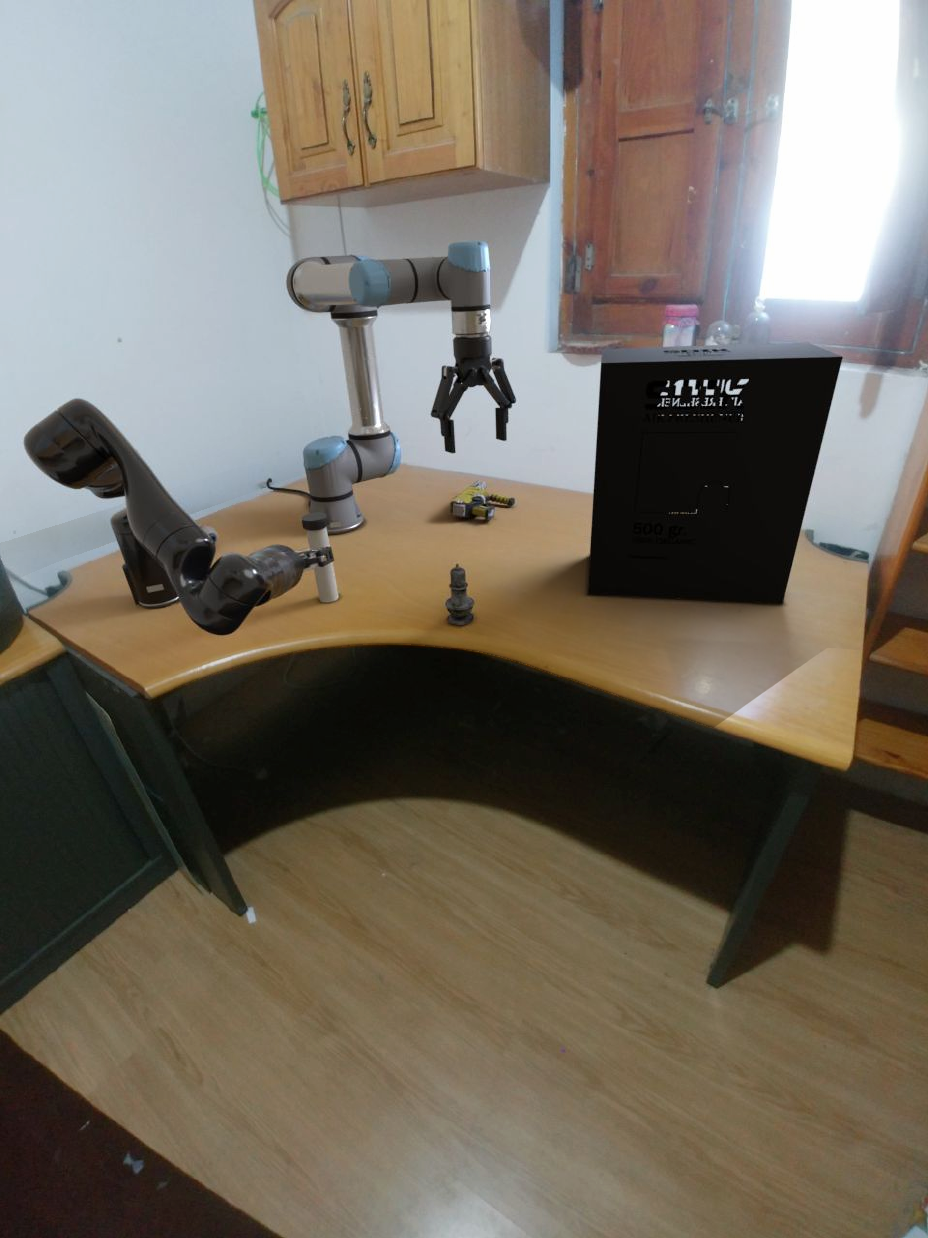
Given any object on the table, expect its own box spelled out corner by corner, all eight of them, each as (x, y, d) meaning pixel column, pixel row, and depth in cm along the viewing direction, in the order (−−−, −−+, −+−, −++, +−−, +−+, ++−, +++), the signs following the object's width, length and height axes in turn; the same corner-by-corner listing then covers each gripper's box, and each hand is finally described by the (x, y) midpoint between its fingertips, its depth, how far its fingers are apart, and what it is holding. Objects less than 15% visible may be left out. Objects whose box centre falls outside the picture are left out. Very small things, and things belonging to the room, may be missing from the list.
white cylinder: (332, 592, 134) (317, 513, 124) (342, 597, 131) (328, 518, 122) (316, 598, 131) (300, 519, 122) (326, 604, 129) (310, 523, 119)
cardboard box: (760, 561, 136) (807, 342, 113) (782, 604, 118) (842, 356, 96) (590, 554, 143) (602, 348, 121) (587, 594, 126) (601, 362, 104)
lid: (319, 519, 126) (318, 510, 125) (333, 525, 123) (331, 515, 121) (298, 526, 123) (296, 517, 122) (311, 532, 120) (309, 523, 119)
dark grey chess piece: (472, 626, 117) (469, 570, 111) (442, 624, 118) (438, 569, 112) (477, 611, 122) (475, 557, 116) (449, 610, 123) (445, 556, 117)
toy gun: (523, 485, 181) (476, 478, 185) (501, 509, 161) (448, 500, 165) (521, 500, 184) (475, 493, 187) (499, 525, 163) (447, 517, 167)
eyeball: (207, 553, 156) (200, 531, 153) (191, 549, 159) (185, 527, 156) (225, 545, 160) (220, 523, 157) (210, 541, 163) (204, 520, 160)
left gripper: (309, 539, 91) (334, 529, 106) (219, 556, 92) (256, 543, 107) (321, 587, 93) (344, 570, 108) (232, 604, 93) (267, 584, 109)
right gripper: (429, 342, 108) (437, 460, 118) (533, 329, 120) (532, 437, 131) (407, 340, 113) (417, 454, 124) (508, 328, 125) (510, 432, 136)
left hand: (300, 557), depth 108 cm, fingers open, 8 cm apart
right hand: (476, 445), depth 127 cm, fingers open, 13 cm apart
